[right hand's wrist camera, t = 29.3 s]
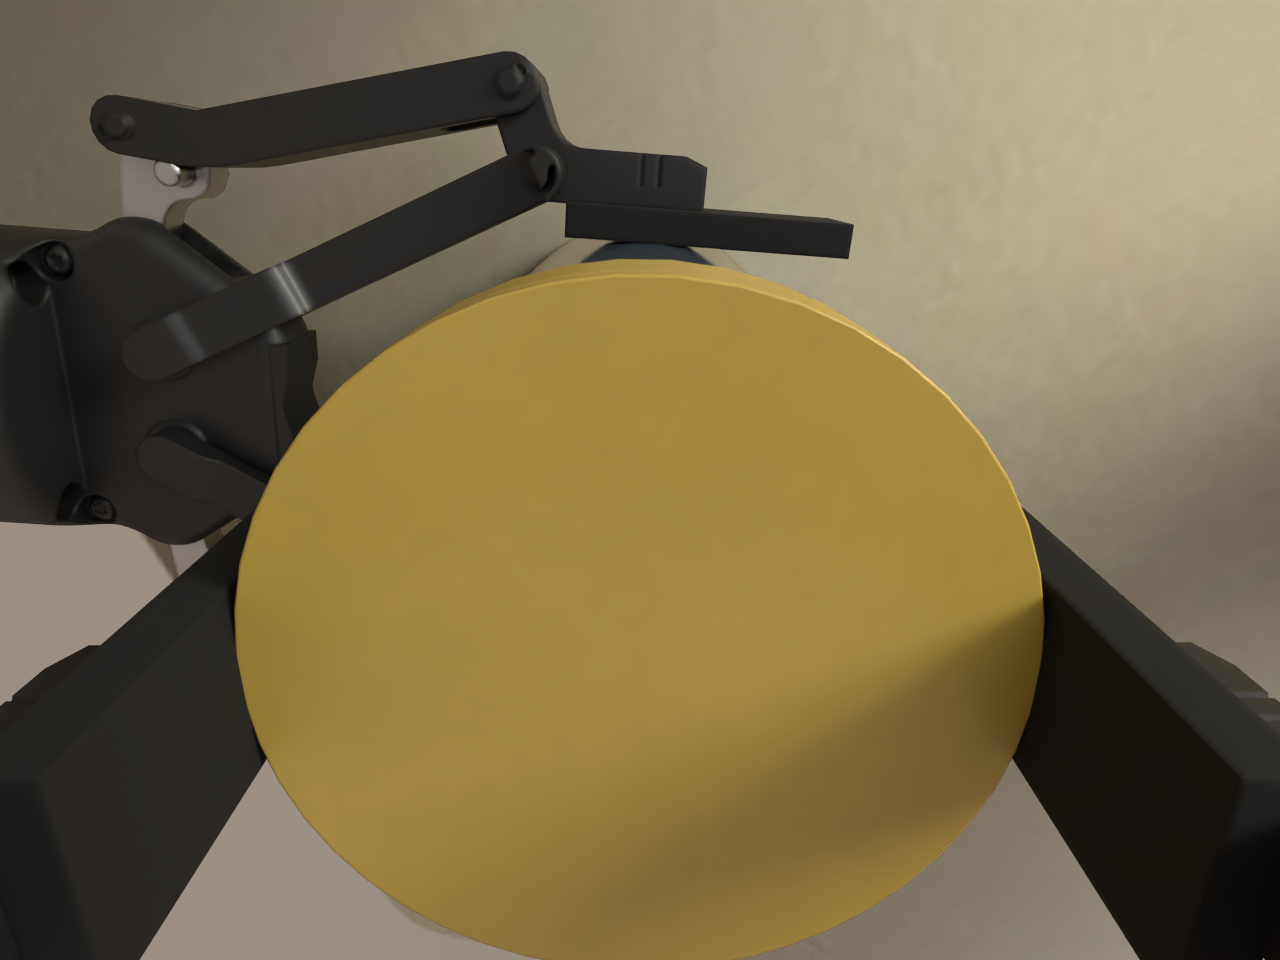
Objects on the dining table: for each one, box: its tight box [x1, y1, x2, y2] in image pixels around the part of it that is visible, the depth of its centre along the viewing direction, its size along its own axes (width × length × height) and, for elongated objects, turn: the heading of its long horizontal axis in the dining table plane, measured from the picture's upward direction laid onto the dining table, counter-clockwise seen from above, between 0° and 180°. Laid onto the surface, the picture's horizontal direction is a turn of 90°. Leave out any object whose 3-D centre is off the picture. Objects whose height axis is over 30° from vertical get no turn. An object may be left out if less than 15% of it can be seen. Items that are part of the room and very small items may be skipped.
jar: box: [529, 238, 747, 275], centre depth 19 cm, size 9×9×17 cm
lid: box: [234, 259, 1045, 960], centre depth 11 cm, size 10×10×2 cm
